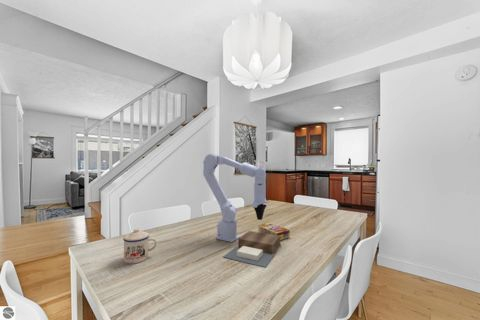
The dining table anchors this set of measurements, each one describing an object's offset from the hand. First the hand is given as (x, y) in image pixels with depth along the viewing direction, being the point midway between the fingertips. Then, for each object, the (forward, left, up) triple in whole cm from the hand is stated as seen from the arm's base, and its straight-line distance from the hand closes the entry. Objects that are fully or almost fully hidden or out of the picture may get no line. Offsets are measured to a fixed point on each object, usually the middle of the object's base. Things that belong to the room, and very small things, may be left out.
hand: (259, 219), depth 103 cm
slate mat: (+3, -20, -10) cm, 23 cm away
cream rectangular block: (+3, -20, -8) cm, 21 cm away
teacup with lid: (-35, -41, -10) cm, 55 cm away
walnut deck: (+3, -8, -10) cm, 13 cm away
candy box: (+11, +5, -8) cm, 14 cm away
